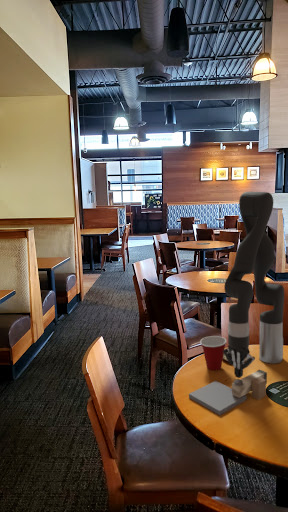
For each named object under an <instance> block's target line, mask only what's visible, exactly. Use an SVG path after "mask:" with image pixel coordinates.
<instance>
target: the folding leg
mask: <svg viewBox="0 0 288 512" xmlns="http://www.w3.org/2000/svg"><path fill="white" fill-rule="evenodd" d="M257 377H260V378H262V379H265V380H266V384H267V383H268V381H267V380H268V379H267V378H268V372H267V371H264V370H262V369H258V370H256V371H254V372H252V373H250V374H249V375H246V376H244V377H243V378H242V377H241V379H240V378H237V379H234V381H233V382H232V383H231V388H232V395H234V396H236V397H238V398H240V397H242V396H244V395H247V394H249V393H252V380H253V379H255V378H257Z"/></svg>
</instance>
